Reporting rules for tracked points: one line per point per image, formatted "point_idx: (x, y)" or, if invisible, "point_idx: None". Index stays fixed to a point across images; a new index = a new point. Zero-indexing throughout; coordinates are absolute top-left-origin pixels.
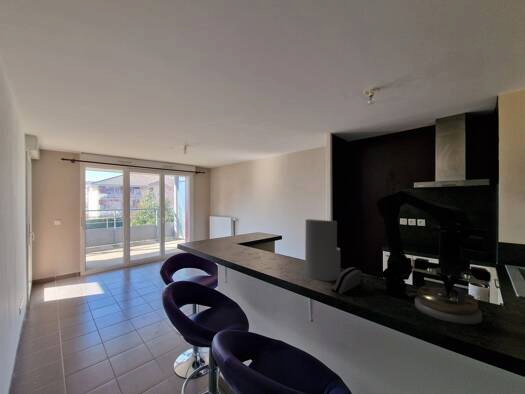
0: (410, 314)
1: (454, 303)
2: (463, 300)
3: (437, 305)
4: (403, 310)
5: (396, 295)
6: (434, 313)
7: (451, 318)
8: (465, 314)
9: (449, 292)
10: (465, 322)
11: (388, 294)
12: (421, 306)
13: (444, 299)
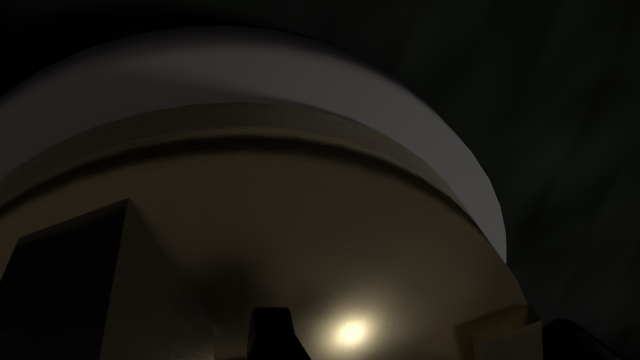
0: (600, 18)
1: (174, 216)
2: (18, 284)
3: (381, 157)
4: (627, 91)
5: (567, 354)
6: (389, 84)
7: (222, 39)
8: (50, 148)
9: (258, 358)
10: (71, 60)
11: (610, 349)
12: (487, 181)
13: (290, 297)
